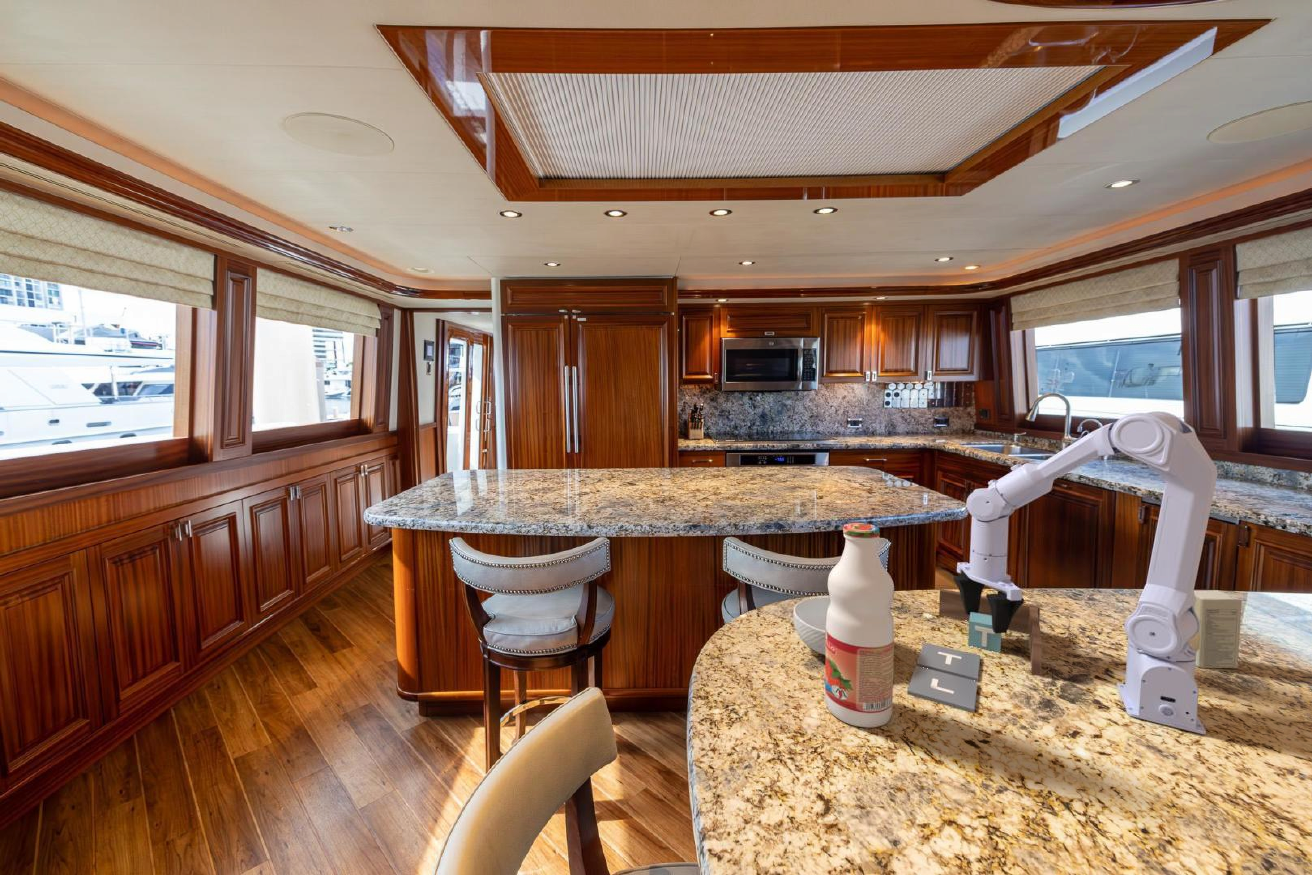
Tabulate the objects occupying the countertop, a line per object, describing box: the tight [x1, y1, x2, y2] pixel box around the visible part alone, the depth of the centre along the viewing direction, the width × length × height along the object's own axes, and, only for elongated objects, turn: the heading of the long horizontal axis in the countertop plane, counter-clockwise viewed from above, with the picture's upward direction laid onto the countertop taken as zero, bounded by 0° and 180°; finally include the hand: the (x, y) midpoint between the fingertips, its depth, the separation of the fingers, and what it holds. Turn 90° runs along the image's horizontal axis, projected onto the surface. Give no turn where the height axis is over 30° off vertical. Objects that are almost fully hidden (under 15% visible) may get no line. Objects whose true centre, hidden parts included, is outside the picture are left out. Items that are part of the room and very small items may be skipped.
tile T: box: [916, 642, 981, 683], centre depth 90 cm, size 9×9×1 cm
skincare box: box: [1189, 589, 1242, 669], centre depth 89 cm, size 6×4×12 cm
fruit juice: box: [824, 522, 895, 729], centre depth 76 cm, size 9×9×28 cm
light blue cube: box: [967, 612, 1002, 654], centre depth 96 cm, size 5×5×5 cm
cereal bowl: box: [792, 595, 831, 656], centre depth 95 cm, size 17×17×7 cm
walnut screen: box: [938, 588, 1043, 677], centre depth 97 cm, size 19×17×6 cm
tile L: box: [906, 665, 978, 714], centre depth 82 cm, size 9×9×1 cm
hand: (985, 622), depth 96 cm, fingers open, 7 cm apart
